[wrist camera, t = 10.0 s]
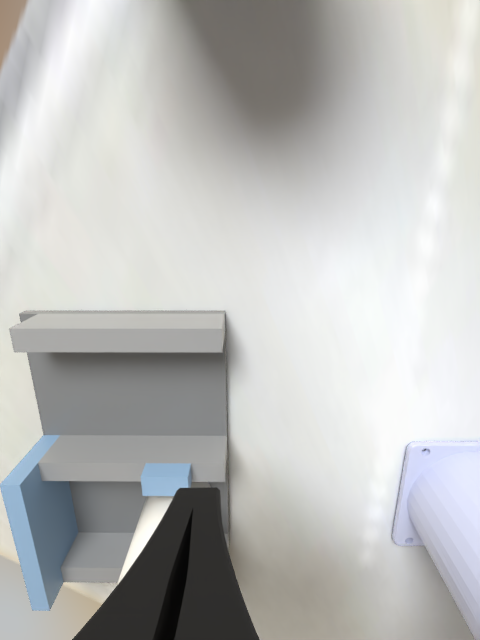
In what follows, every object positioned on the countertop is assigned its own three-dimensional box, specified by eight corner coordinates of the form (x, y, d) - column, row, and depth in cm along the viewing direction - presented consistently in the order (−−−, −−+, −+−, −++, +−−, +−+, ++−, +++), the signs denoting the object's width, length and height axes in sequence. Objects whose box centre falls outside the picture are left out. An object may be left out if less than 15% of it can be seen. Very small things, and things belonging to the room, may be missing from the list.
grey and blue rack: (225, 310, 19) (219, 341, 15) (229, 539, 24) (225, 612, 20) (25, 310, 19) (-38, 340, 15) (70, 537, 24) (32, 610, 20)
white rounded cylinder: (211, 468, 22) (199, 561, 16) (213, 518, 23) (202, 622, 17) (147, 467, 22) (112, 560, 16) (151, 518, 23) (121, 620, 17)
